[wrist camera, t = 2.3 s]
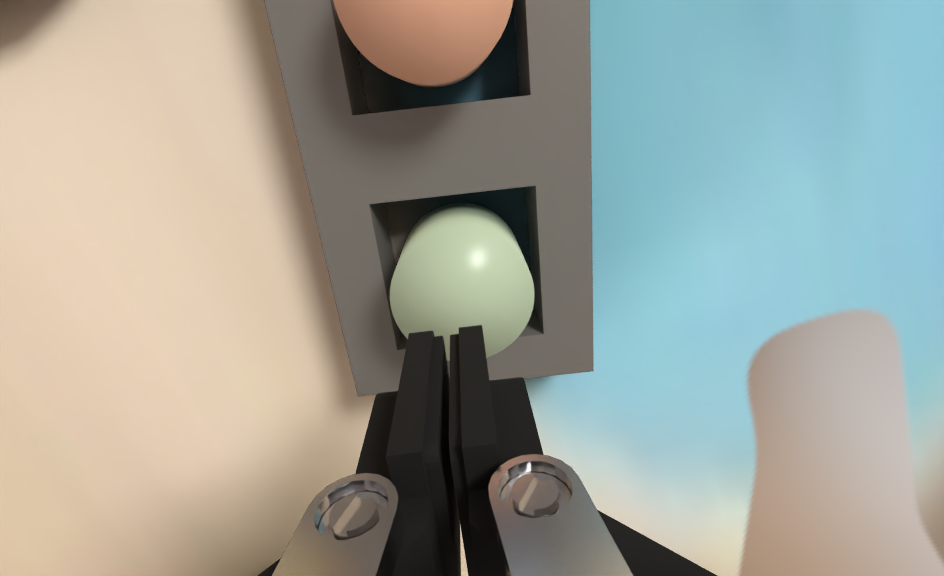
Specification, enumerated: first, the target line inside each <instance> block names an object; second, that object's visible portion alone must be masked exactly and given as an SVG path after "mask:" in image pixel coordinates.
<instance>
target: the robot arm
mask: <svg viewBox="0 0 944 576" xmlns="http://www.w3.org/2000/svg"><path fill="white" fill-rule="evenodd" d="M460 524H461V531H462V537H463V543H464V550H465V556H466V563H467V569H468V575H469V576H717V575H715V574H713V573H711V572H709V571H708V570H706V569H704V568H702V567H700V566H699V565H697V564H695V563H693V562H691V561H689V560H688V559H686V558H684V557H682V556H680V555H678V554H677V553H675V552H673V551H671V550H669V549H668V548H666V547H664V546H662V545H660V544H658V543H657V542H655V541H653V540H651V539H649V538H647V537H646V536H644V535H642V534H640V533H638V532H637V531H635V530H633V529H631V528H629V527H627V526H626V525H624V524H622V523H620V522H618V521H616V520H615V519H613V518H611V517H609V516H607V515H606V514H604V513H602V512H600V511H598V510H597V509H596V507H595V505H594V503H593V502H592V500H591V498H590V496H589V494H588V493H587V491H586V489H585V487H584V485H583V483H582V482H581V480H580V478H579V476H578V475H577V474H576V473H575V471H574V470H573V469H572V468H571V467H570V466H569V465H567V464H566V463H564V462H563V461H561V460H559V459H556V458H553V457H551V456H547V455H543V451H542V447H541V443H540V439H539V435H538V432H537V428H536V424H535V420H534V416H533V412H532V408H531V404H530V401H529V397H528V393H527V389H526V385H525V381H524V378H523V377H516V378H507V379H498V380H489V374H488V366H487V359H486V351H485V344H484V336H483V329H482V325H477V326H468V327H459V334H453V335H450V378H449V372H448V365H447V358H446V351H445V344H444V338H443V336H434V332H433V331H424V332H415V333H409V335H408V340H407V345H406V351H405V356H404V361H403V367H402V372H401V377H400V382H399V388H398V391H392V392H383V393H378V394H377V395H376V398H375V401H374V405H373V408H372V412H371V416H370V420H369V424H368V428H367V431H366V435H365V439H364V443H363V447H362V451H361V454H360V458H359V462H358V466H357V470H356V474H353V475H350V476H347V477H344V478H342V479H339V480H337V481H336V482H334V483H332V484H330V485H329V486H327V487H326V488H325V489H324V490H322V491H321V492H320V493H319V494H318V495H317V496H316V497H315V498H314V500H313V501H312V502H311V504H310V505H309V507H308V508H307V510H306V512H305V514H304V516H303V518H302V520H301V522H300V523H299V525H298V527H297V529H296V531H295V533H294V535H293V537H292V539H291V540H290V542H289V544H288V546H287V548H286V550H285V552H284V554H283V555H282V557H281V558H280V559H279V560H278V561H276V562H275V563H274V564H272V565H271V566H270V567H269V568H267V569H266V570H265V571H263V572H262V573H261V574H259V575H258V576H461V557H460Z"/></svg>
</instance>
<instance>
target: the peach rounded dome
mask: <svg viewBox="0 0 944 576" xmlns="http://www.w3.org/2000/svg"><path fill="white" fill-rule="evenodd" d="M333 1H334V5H335V9H336V11H337V14H338V17H339V20H340V22H341V24H342V26H343V28H344V30H345V32H346V33H347V35H348V36H349V38H350V39H351V41H352V43H353V44H354V45H355V46H356V47H357V49H358V50H359V51H360V52H361V53H362V54H363V55H364V56H365V57H366V58H367V59H368V60H369V61H370V62H371V63H373V64H374V65H375V66H377V67H378V68H379V69H381V70H383V71H384V72H386V73H388V74H390V75H392V76H394V77H397V78H399V79H401V80H404V81H406V82H409V83H411V84H414V85H418V86H422V87H431V88H434V87H444V86H449V85H452V84H455V83H458V82H460V81H462V80H464V79H466V78H467V77H469V76H470V75H471V74H473V73H474V72H475V71H476V70H477V69H478V68H479V67H480V66H481V65H482V64H483V63H484V61H485V60H486V59H487V57H488V56H489V54H490V53H491V51H492V50H493V48H494V47H495V45H496V43H497V42H498V40H499V39H500V37H501V35H502V33H503V31H504V29H505V27H506V25H507V22H508V19H509V16H510V13H511V9H512V4H513V0H333Z"/></svg>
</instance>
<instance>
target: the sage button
mask: <svg viewBox="0 0 944 576" xmlns="http://www.w3.org/2000/svg"><path fill="white" fill-rule="evenodd" d="M390 305H391V310H392V314H393V317H394V319H395V321H396V324H397V325H398V327H399V329H400V330H401V332H402V333H403V334H404V336H405V337H406V338H407V339H408V335H409V333H415V332H424V331H433V332H434V336H443V338H444V344H445V351H446V358H447V360H448V361H450V335H453V334H459V327H468V326H477V325H482V329H483V336H484V344H485V351H486V358H487V357H490V356H492V355H495V354H497V353H498V352H500V351H502V350H504V349H505V348H506V347H508V346H509V345H511V344H512V343H513V342H514V341H515V340H516V339H517V338H518V337H519V335H520V334H521V333H522V332H523V330H524V328H525V327H526V325H527V323H528V321H529V319H530V317H531V313H532V310H533V305H534V284H533V280H532V276H531V273H530V271H529V268H528V266H527V264H526V261H525V259H524V257H523V254H522V252H521V250H520V247H519V245H518V243H517V240H516V238H515V236H514V233H513V232H512V230H511V229H510V227H509V226H508V224H507V223H506V222H505V221H504V220H503V219H502V218H501V217H500V216H499V215H497V214H496V213H494V212H493V211H491V210H489V209H487V208H485V207H482V206H479V205H476V204H471V203H452V204H447V205H443V206H440V207H438V208H436V209H434V210H432V211H430V212H428V213H427V214H425V215H424V216H423V217H422V218H421V219H420V220H419V221H418V222H417V223H416V224H415V225H414V227H413V228H412V230H411V231H410V233H409V235H408V237H407V239H406V242H405V245H404V247H403V250H402V253H401V255H400V258H399V261H398V263H397V266H396V269H395V271H394V274H393V277H392V280H391V286H390Z"/></svg>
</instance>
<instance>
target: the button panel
mask: <svg viewBox="0 0 944 576" xmlns="http://www.w3.org/2000/svg"><path fill="white" fill-rule="evenodd" d="M264 1H265V6H266V10H267V14H268V18H269V23H270V27H271V31H272V35H273V39H274V44H275V48H276V52H277V56H278V61H279V65H280V69H281V73H282V77H283V82H284V86H285V90H286V94H287V99H288V103H289V107H290V111H291V115H292V120H293V124H294V128H295V132H296V137H297V141H298V145H299V149H300V153H301V158H302V162H303V166H304V170H305V175H306V179H307V183H308V187H309V191H310V196H311V200H312V204H313V208H314V213H315V217H316V221H317V225H318V229H319V234H320V238H321V242H322V246H323V251H324V255H325V259H326V263H327V267H328V272H329V276H330V280H331V284H332V289H333V293H334V297H335V301H336V305H337V310H338V314H339V318H340V322H341V327H342V331H343V335H344V339H345V343H346V348H347V352H348V356H349V360H350V365H351V369H352V373H353V377H354V381H355V386H356V390H357V394H358V396H366V395H375V394H378V393H383V392H392V391H398V388H399V382H400V377H401V372H402V367H403V361H404V356H405V351H406V345H407V340H408V339H407V338H406V337H405V336H404V334H403V333H402V332H401V330H400V329H399V327H398V325H397V324H396V321H395V319H394V317H393V314H392V310H391V305H390V286H391V280H392V277H393V274H394V271H395V269H396V266H395V260H394V255H393V249H392V244H391V238H390V232H389V227H388V221H387V216H386V210H385V204H384V203H385V202H394V201H403V200H411V199H420V198H429V197H438V196H447V195H456V194H465V193H474V192H483V191H491V190H500V189H509V188H518V187H525V190H526V206H527V222H528V238H529V254H530V270H531V276H532V280H533V284H534V305H533V310H532V313H531V317H530V319H529V321H528V323H527V325H526V327H525V328H524V330H523V332H522V333H521V334H520V335H519V337H518V338H517V339H516V340H515V341H514V342H513V343H512V344H511V345H509V346H508V347H506V348H505V349H504V350H502V351H500V352H498V353H497V354H495V355H492V356H490V357H487V358H486V359H487V366H488V374H489V380H498V379H507V378H516V377H523V378H524V379H525V378H534V377H543V376H553V375H562V374H571V373H581V372H590V371H593V275H592V172H591V70H590V0H514V15H515V31H516V47H517V63H518V79H519V95H520V96H517V97H508V98H500V99H491V100H482V101H473V102H465V103H456V104H447V105H439V106H430V107H421V108H413V109H404V110H395V111H386V112H378V113H369V114H368V109H367V103H366V98H365V92H364V87H363V81H362V75H361V70H360V64H359V59H358V53H357V47H356V46H355V45H354V44H353V43H352V41H351V39H350V38H349V36H348V35H347V33H346V32H345V30H344V28H343V26H342V24H341V22H340V20H339V17H338V14H337V11H336V9H335V5H334V1H333V0H264ZM447 365H448V372H449V378H450V361H448V360H447Z"/></svg>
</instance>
